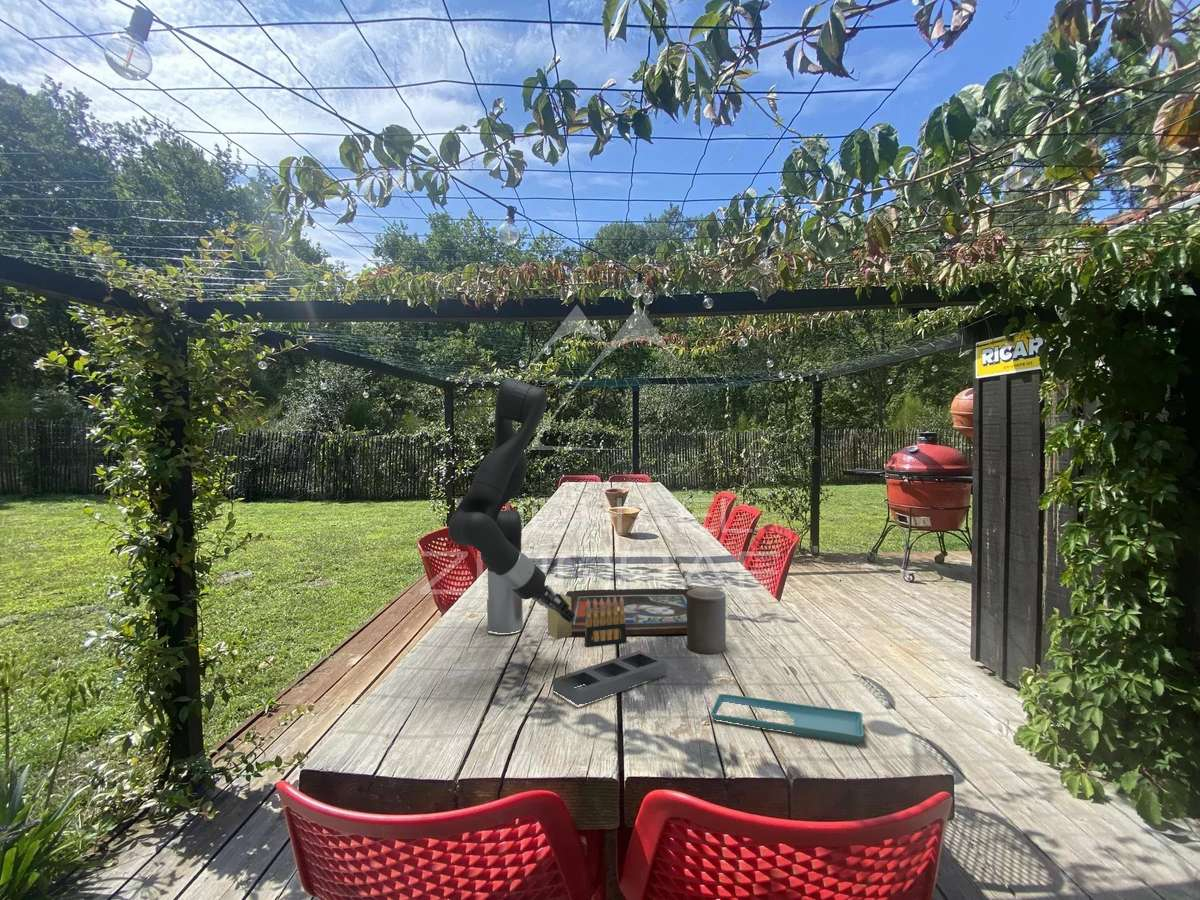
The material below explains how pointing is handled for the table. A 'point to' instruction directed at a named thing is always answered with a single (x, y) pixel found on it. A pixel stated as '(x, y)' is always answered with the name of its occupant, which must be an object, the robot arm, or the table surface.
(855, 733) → the rectangular tray
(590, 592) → the religious icon
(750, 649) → the table surface
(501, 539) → the robot arm
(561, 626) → the brass peg
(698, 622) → the pillar candle
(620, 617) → the ammunition clip
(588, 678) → the rack rail
